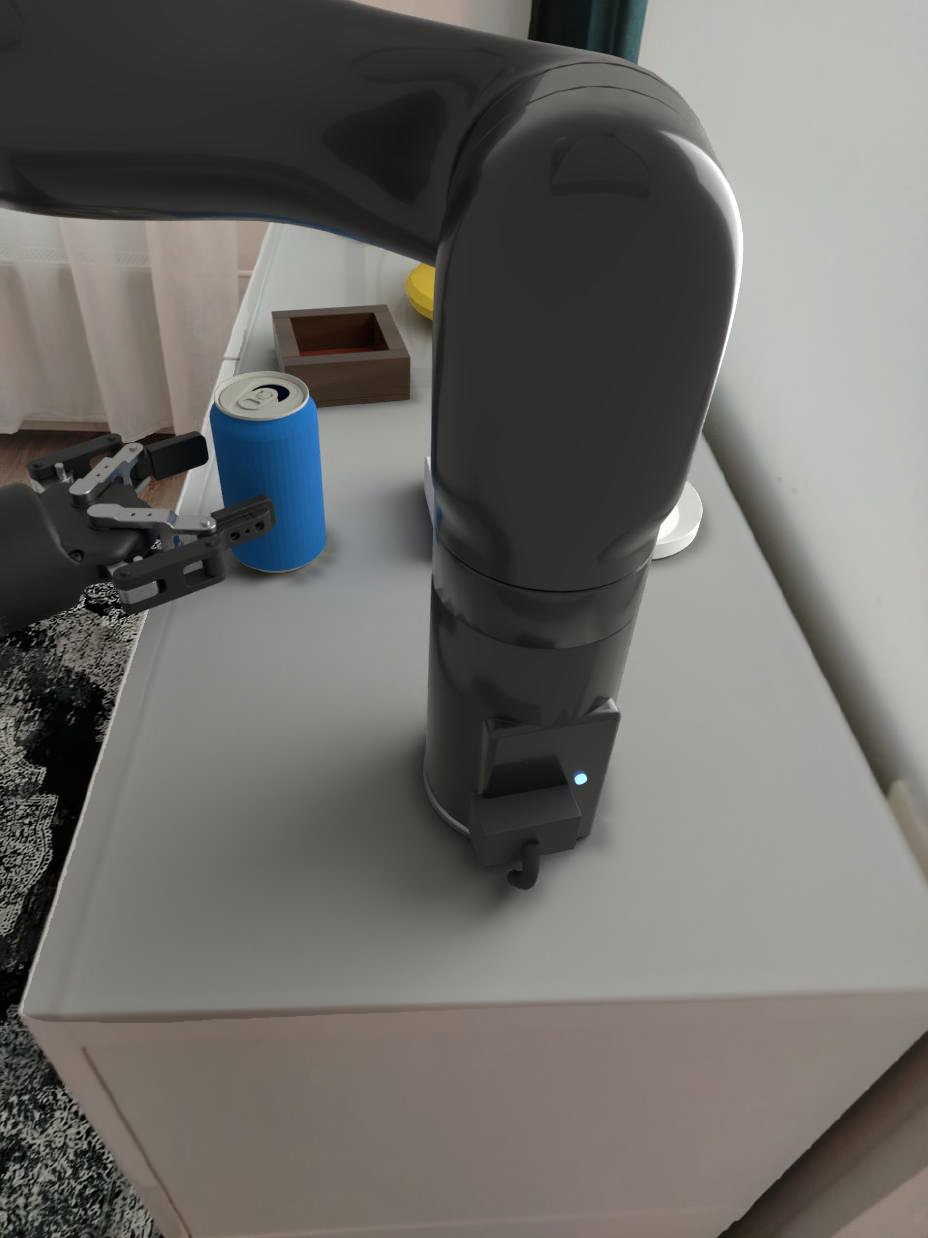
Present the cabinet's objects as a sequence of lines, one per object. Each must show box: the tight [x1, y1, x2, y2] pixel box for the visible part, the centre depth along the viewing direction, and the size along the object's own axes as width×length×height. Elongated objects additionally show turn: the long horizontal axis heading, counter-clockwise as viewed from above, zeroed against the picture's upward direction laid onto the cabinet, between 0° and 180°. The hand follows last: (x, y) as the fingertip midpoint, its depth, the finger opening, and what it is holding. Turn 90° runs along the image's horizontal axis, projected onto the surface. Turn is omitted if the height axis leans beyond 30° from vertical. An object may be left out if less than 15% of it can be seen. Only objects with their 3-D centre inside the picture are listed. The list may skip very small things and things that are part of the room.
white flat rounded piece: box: [423, 455, 703, 560], centre depth 66 cm, size 12×3×20 cm
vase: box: [404, 262, 435, 321], centre depth 89 cm, size 16×16×7 cm
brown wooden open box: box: [271, 303, 411, 408], centre depth 79 cm, size 10×10×4 cm
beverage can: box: [208, 370, 327, 574], centre depth 58 cm, size 6×6×12 cm
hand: (236, 476), depth 56 cm, fingers open, 8 cm apart
